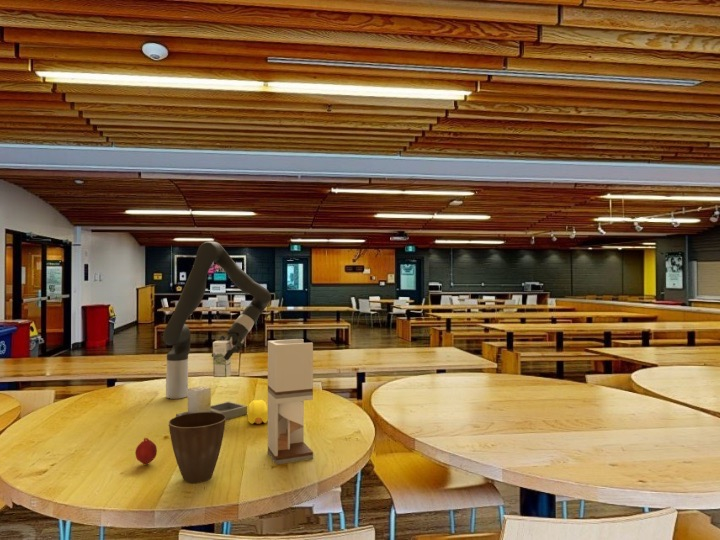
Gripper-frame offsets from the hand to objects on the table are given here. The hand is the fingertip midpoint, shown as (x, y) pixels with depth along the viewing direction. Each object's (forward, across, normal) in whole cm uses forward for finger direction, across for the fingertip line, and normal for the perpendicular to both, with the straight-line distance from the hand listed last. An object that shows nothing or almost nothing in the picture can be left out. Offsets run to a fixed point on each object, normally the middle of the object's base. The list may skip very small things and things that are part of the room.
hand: (219, 358), depth 198 cm
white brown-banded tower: (+28, +58, +4) cm, 65 cm away
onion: (+49, +30, -18) cm, 61 cm away
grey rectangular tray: (+21, +6, +10) cm, 24 cm away
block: (+25, +6, +6) cm, 26 cm away
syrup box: (+5, 0, +7) cm, 8 cm away
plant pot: (+47, +50, -16) cm, 70 cm away
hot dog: (+14, +21, +18) cm, 31 cm away
